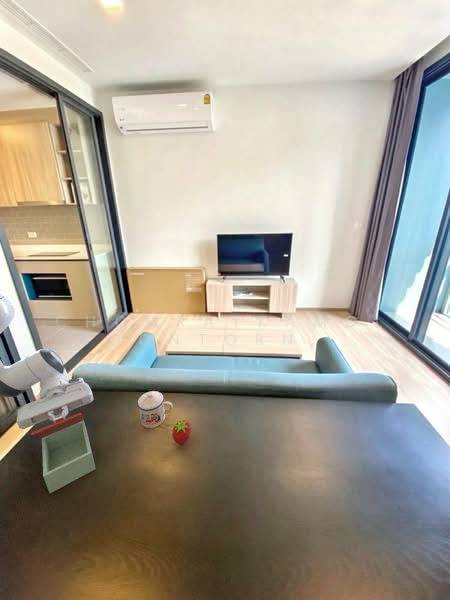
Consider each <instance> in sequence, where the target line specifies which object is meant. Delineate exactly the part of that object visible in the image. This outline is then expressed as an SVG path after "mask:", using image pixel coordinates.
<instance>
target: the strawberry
mask: <svg viewBox="0 0 450 600" xmlns="http://www.w3.org/2000/svg"><path fill="white" fill-rule="evenodd" d="M191 434H192V426H191V423H190V421H188V420H186V419H181V420H179V421H176V424H174V425H173V428H172V439H173V440H174V442H175V443H176V444H177V445H179V446H183V445H184V444H186V443H187V441H189V440H190V437H191Z"/></svg>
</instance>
